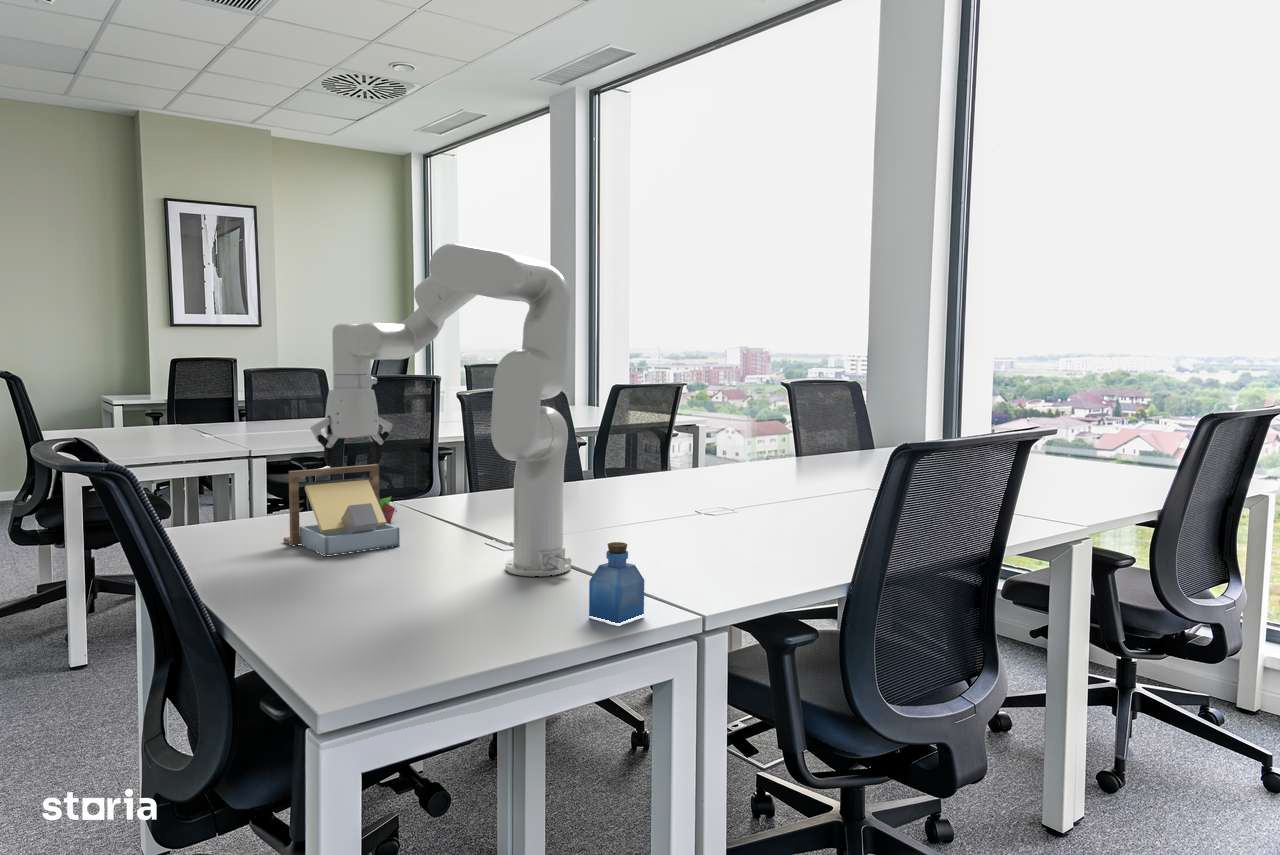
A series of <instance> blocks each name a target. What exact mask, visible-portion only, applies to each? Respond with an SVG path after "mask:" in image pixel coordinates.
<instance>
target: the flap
mask: <svg viewBox="0 0 1280 855" xmlns="http://www.w3.org/2000/svg"><path fill="white" fill-rule="evenodd" d="M304 491H305V494H306V496H307V499H308V501H309V504H310V506H311V508H312V509H311V510H312V512H313V514H314V517H315V520H316V522H317V524H318V526H319V528H320V531H321V533H325V532H333V531H341V530H345V528H344V525H343V523H342V520H341V518H342V517H343V515H344V513H345V511H346V509H347V507H348V506H349V505H359V504H368V503H372V506H373V509H374V512H375V514H376V517H377V520H378V525H377V526H379V525H385V524H386V523H387V522H386V520H385V517H384V515H383V512H382V510H381V508H380V505H379V503H378V501H377V498H376V496H375V494H374V491H373V489H372V486H371V484H370V481H369V480H360V481H349V482H338V483H327V484H316V485H306V486H305V487H304Z"/></svg>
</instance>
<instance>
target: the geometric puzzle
mask: <svg viewBox="0 0 1280 855" xmlns="http://www.w3.org/2000/svg"><path fill="white" fill-rule="evenodd" d="M391 499H392V502H394V501H393V500H394V499H393V496H392V495H391V496H386V497H382V498H379V505H380V508H381V510H382V512H383V515H384V517H385V520H386V523H387V522H388V523H387V524H389V523H390V524H391V522H392V521H393V520H394V519H393V516H396V514H397V513H398V510H397V508H396V504H395V503H393V506H392V505H390V502H391Z"/></svg>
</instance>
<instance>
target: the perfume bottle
mask: <svg viewBox="0 0 1280 855" xmlns="http://www.w3.org/2000/svg"><path fill="white" fill-rule="evenodd" d="M607 548H608V550H606V554H605V556H606V560H607V563H603V564H599V565H598V567H597V568H596V570H595V572H594V573H593V575H592V576H591V577H590V579H589V582H588V583H589V585H588V586H589V587H588V594H589V595H588V599H589V600H588V617H589V616H593V617H597V618H601V619H605V620H609V621H611V622H615V623H621V622H623V621H626V620H628V619H631V618H634V617H636V616H639V615H642V614H644V615H645V579H644V577H643V575H642V574H641V573H640V571H639V569H638V568H637V566H636V565H635V564H633V563H628V562H627V560H628V559H629V551H628V550H627V549H628V543H625V542H621V541H618V542H617V541H615V542H609V543H607Z"/></svg>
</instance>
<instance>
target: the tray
mask: <svg viewBox="0 0 1280 855" xmlns="http://www.w3.org/2000/svg"><path fill="white" fill-rule="evenodd" d="M299 527H300V544H302V545H304V546H306V547H308V548H310V549H312V550H314V551H317V552H319V553H321V554H323V555H325V556H327V555H334V554H342V553H349V552H357V551H363V550H370V549H377V548H385V547H391V548H393V547H392V546H398V547H400V545H401V544H400V527H398V526H395V525H392V524H391V523H390V524H389V523H387V522H386V524H385V525H379V526H377V527H376V528H375V530H374V531H368V532H360V533H353V534H346V531H345V530H341V531H333V532H325V533H321V531H320V528H319V526H318V523H317V524H310V525H300V526H299ZM385 549H386V548H385ZM312 550H311V551H312ZM314 551H313V552H314Z"/></svg>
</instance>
